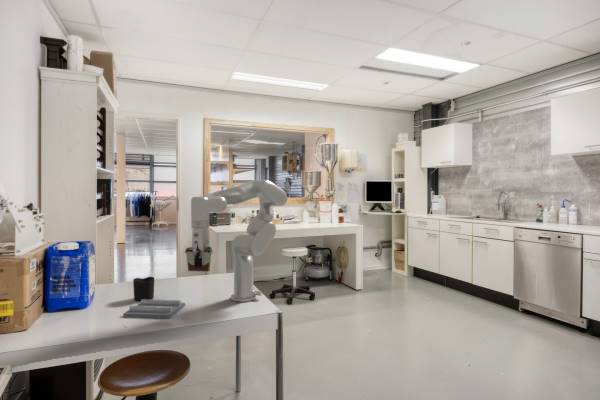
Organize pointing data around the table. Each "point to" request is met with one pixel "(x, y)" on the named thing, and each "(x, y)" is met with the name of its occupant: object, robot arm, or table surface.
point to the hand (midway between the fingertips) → (200, 265)
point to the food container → (204, 255)
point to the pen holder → (143, 288)
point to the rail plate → (155, 308)
